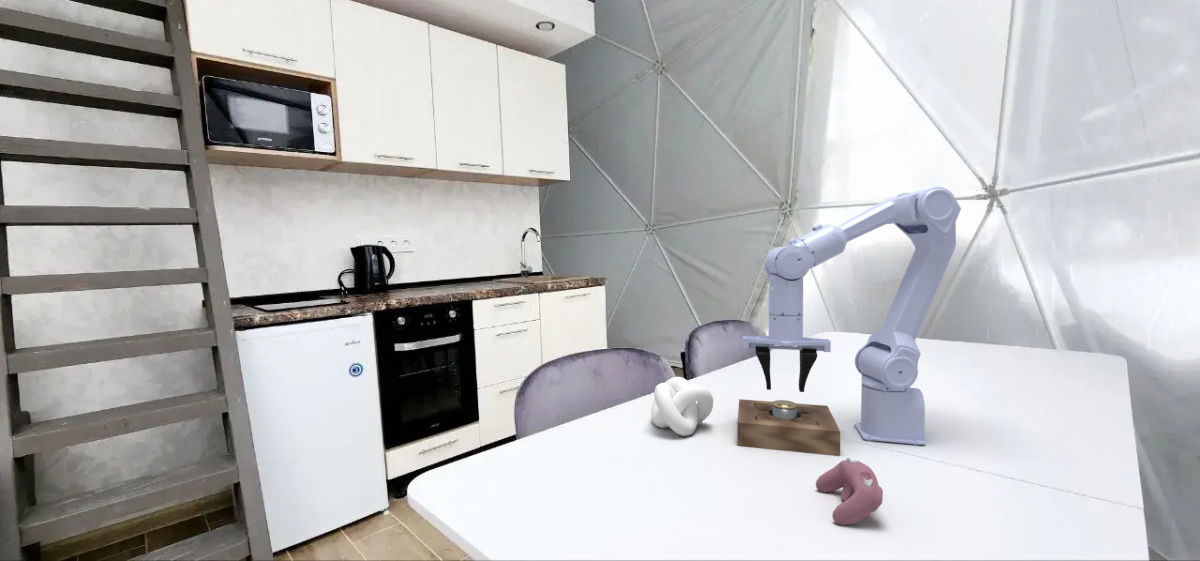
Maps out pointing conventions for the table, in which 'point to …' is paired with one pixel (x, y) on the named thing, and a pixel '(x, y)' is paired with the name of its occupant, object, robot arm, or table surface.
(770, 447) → the jig
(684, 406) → the white knot sculpture
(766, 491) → the table surface
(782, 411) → the brass capped cylinder
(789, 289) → the robot arm
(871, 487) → the video game controller
